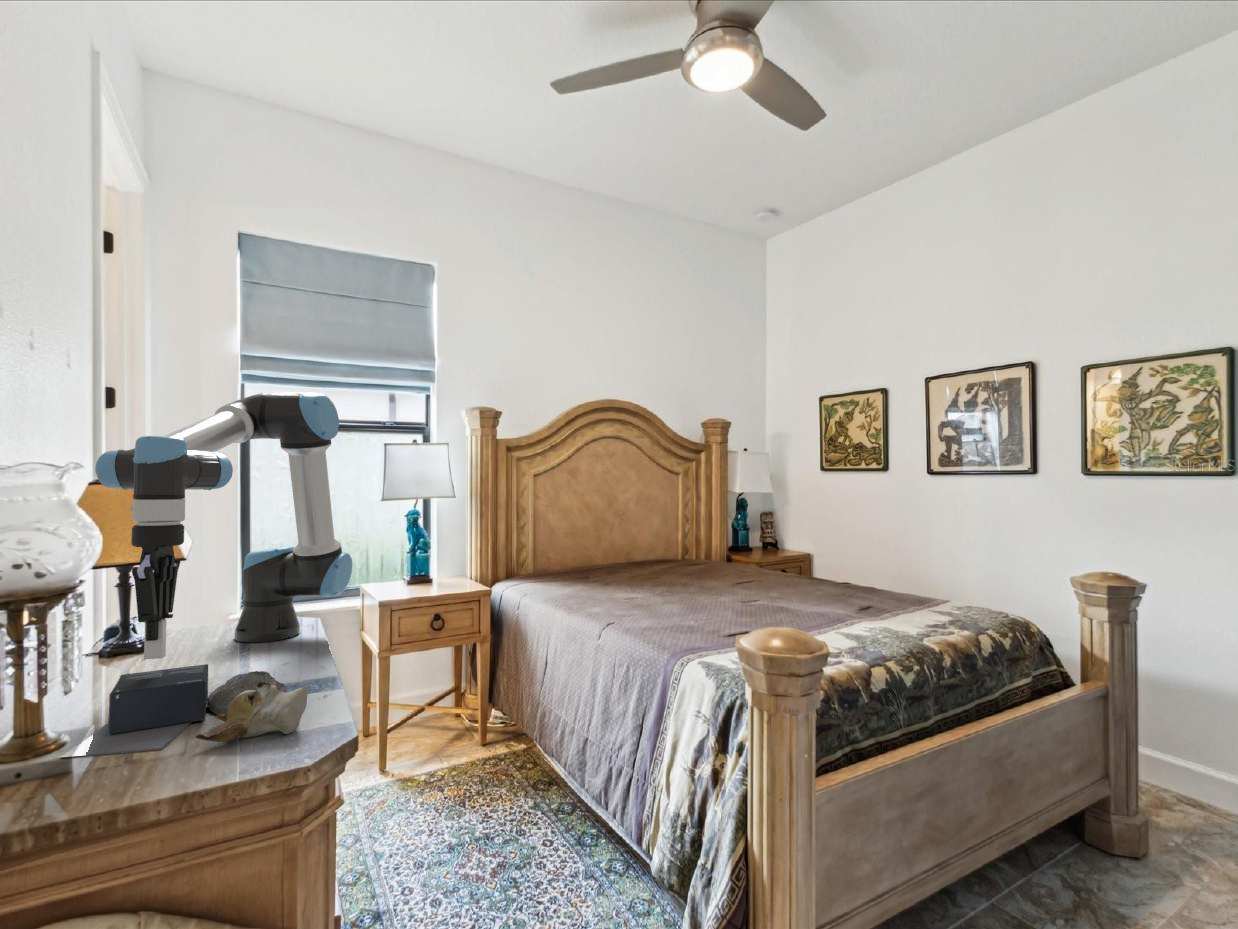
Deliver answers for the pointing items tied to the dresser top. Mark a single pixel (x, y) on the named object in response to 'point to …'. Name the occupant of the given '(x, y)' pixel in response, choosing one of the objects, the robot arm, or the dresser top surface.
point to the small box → (158, 699)
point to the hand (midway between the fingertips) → (154, 657)
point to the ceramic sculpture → (259, 713)
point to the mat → (133, 740)
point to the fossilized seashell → (238, 689)
